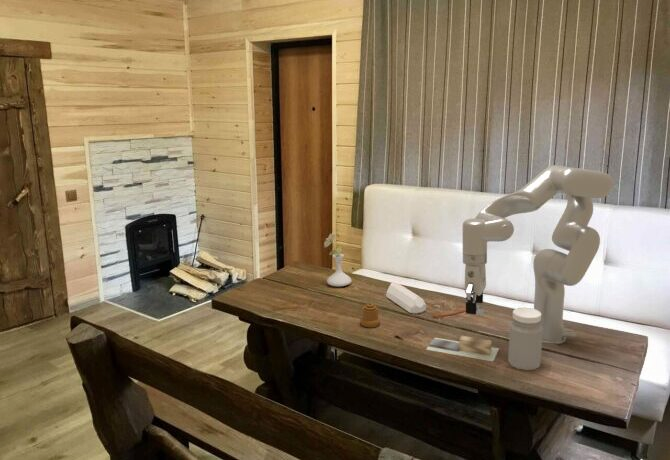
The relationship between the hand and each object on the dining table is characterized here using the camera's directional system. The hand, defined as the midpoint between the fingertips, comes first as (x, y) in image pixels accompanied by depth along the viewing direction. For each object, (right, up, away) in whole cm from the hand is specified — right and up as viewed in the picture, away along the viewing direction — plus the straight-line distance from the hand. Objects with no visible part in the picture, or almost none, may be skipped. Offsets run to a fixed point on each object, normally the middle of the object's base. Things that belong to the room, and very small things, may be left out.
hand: (474, 308), depth 181 cm
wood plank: (-16, -12, +18) cm, 27 cm away
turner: (-3, -14, +5) cm, 16 cm away
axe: (+4, -8, +35) cm, 37 cm away
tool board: (-3, -15, +5) cm, 16 cm away
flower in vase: (-44, 0, +73) cm, 85 cm away
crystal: (-16, -5, +48) cm, 51 cm away
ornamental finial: (-32, -10, +29) cm, 45 cm away
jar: (+14, -18, -6) cm, 23 cm away
